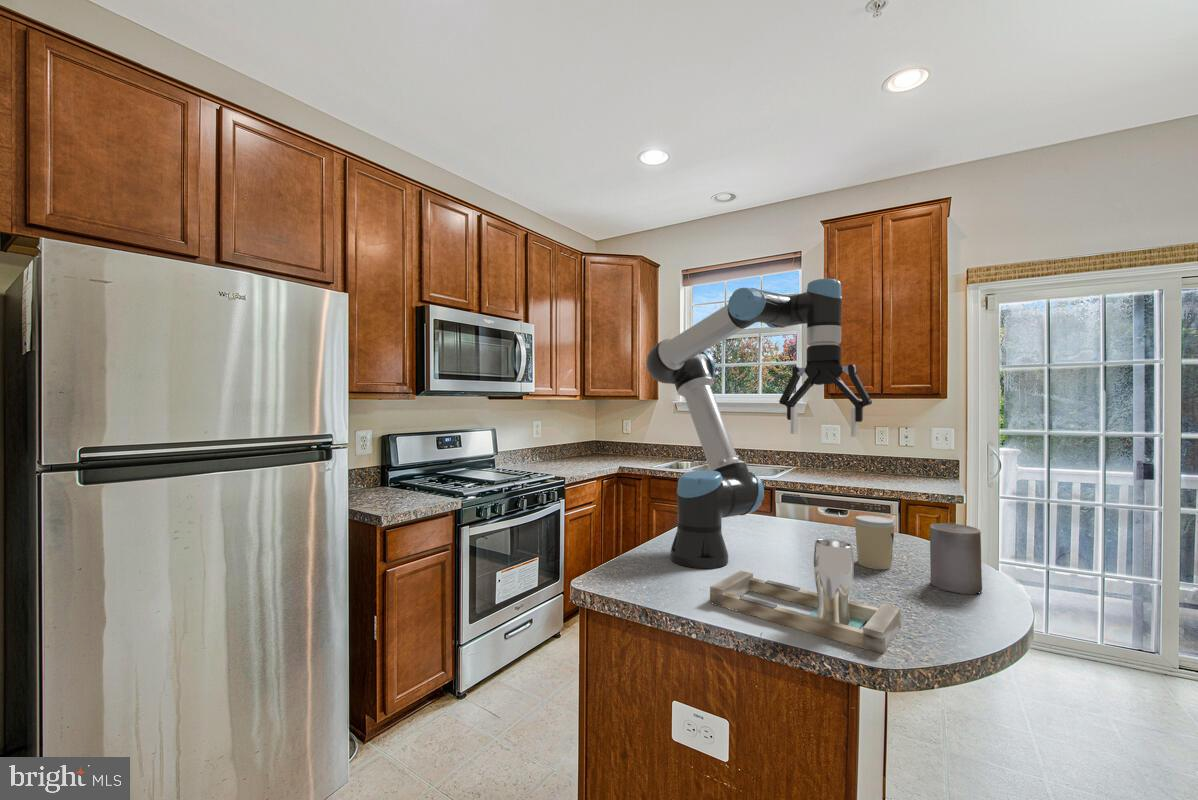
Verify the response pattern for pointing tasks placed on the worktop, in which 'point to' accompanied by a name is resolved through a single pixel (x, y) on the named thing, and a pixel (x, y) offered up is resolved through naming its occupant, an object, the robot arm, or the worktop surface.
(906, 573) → the worktop surface
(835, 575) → the beer glass
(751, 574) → the wooden serving tray
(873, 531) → the coffee cup
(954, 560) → the dark gray cylinder
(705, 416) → the robot arm
